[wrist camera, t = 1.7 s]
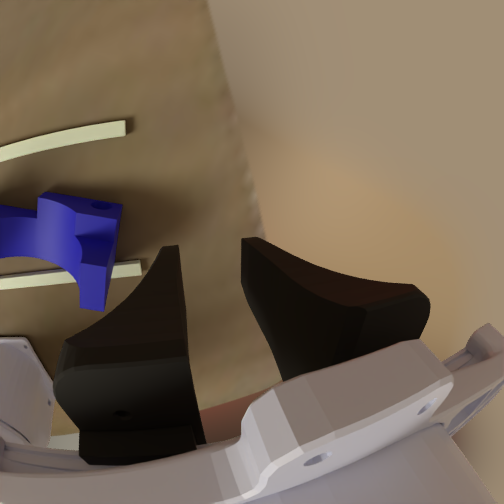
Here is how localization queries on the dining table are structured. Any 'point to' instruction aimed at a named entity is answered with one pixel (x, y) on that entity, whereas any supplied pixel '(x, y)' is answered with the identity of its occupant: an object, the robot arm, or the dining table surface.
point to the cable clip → (67, 239)
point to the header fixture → (48, 143)
